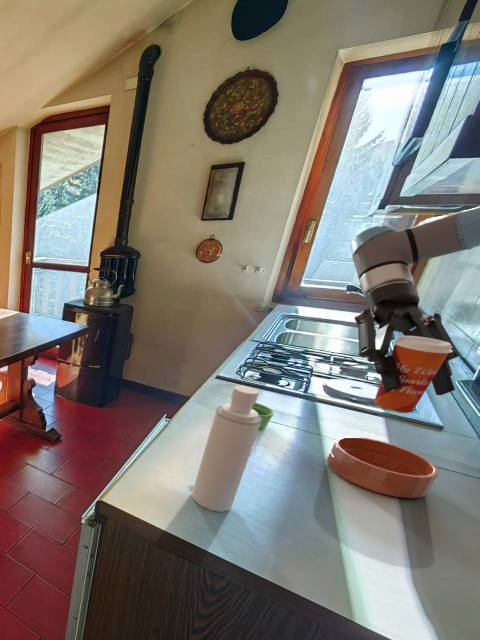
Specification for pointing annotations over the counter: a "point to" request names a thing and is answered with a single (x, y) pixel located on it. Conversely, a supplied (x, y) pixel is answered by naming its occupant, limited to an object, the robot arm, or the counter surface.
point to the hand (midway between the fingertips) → (419, 390)
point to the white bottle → (227, 451)
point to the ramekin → (263, 414)
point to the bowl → (382, 467)
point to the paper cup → (413, 371)
